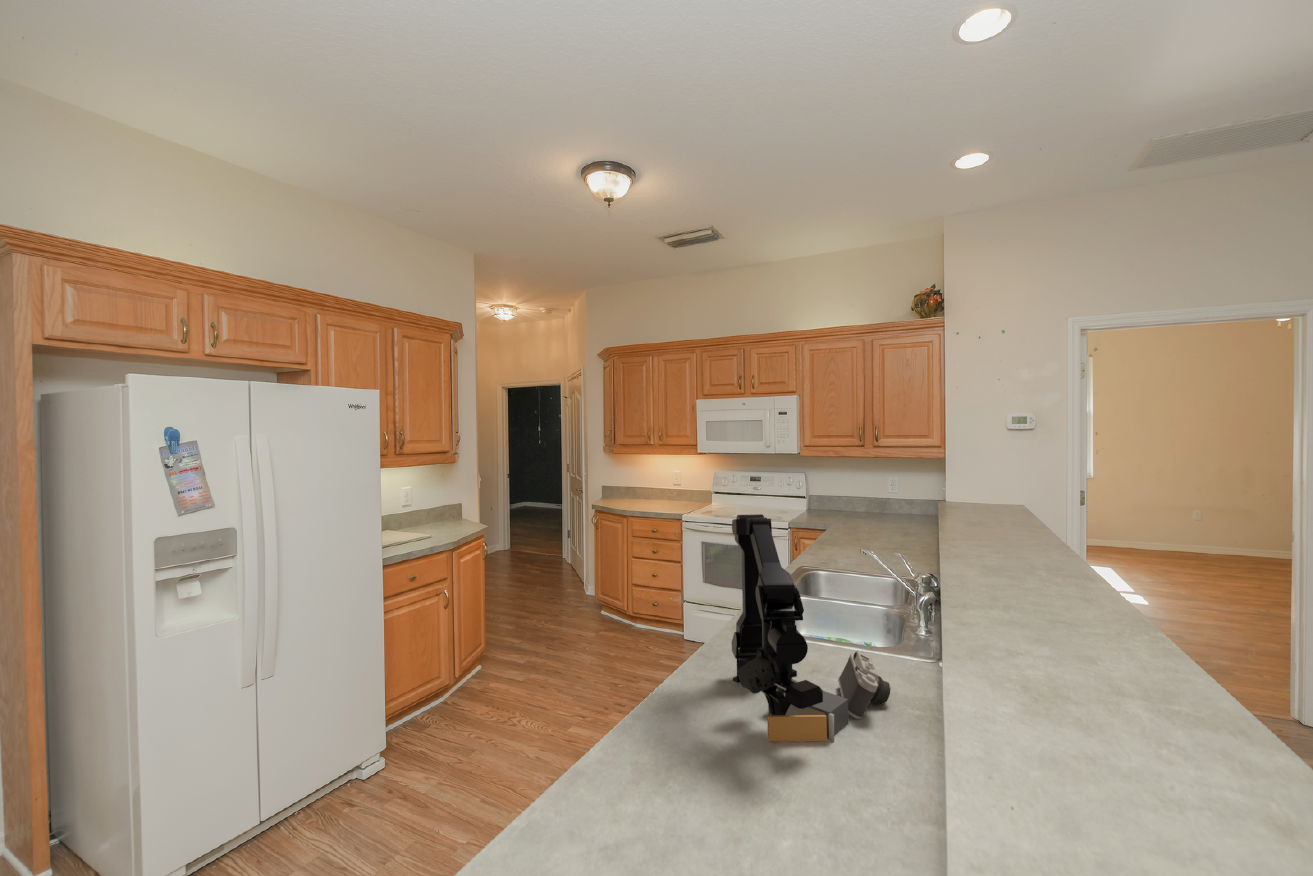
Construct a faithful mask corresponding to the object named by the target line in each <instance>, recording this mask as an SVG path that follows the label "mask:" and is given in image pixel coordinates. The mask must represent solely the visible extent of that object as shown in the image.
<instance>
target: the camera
mask: <svg viewBox="0 0 1313 876" xmlns="http://www.w3.org/2000/svg"><path fill="white" fill-rule="evenodd" d="M837 681H838V686H839V691H840V695H841V697H843V698H846V699H848V715H850V716H851V717H853V718H855V719H857V720H862V719H863V717H864V715H865V713H866V711H867V709H868V707H869V706H870V703H877V704H878V705H880V706H882V705H884V704H885V703H887V701H888V700H889V698H890V695H891V686H890V682H888V681H885V680H884V679H883V677H881V676H879V673H878V671H877V668H876V666H875V664H874V661H873V658H872V656H871V654H869V653H866V652H865V651H863V650H858V649H857V650H856V651H855V652H854V653H853V652H850V655H849V657H848V659H847V662H846V663H845V666H844V668H843V669H842V672H841V674H840V676H839V677H838V679H837Z"/></svg>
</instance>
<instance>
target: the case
mask: <svg viewBox="0 0 1313 876" xmlns="http://www.w3.org/2000/svg"><path fill="white" fill-rule="evenodd" d="M767 705H768V704H767ZM767 709H768V710H767V714H771V711H770V708H769V705H768V706H767ZM786 715H826V716H827V739H828V741H829V743H835V735H836V734H838V733H839V732H840V731H842V730H843V729H844V728H845V727H846V726H848V725H849V713H848V699H846V698H843V697H842V696H840V695H837V694H835V693H831V692H827V691H825V690H823V702H821V703H818V704H815V705H812V706H810V707H807V708H804V709H800V708H797V707H795V706H793V705H792V704H791V705H790V706H789V708H788V711H787V713H786Z"/></svg>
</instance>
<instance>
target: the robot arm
mask: <svg viewBox="0 0 1313 876" xmlns="http://www.w3.org/2000/svg"><path fill="white" fill-rule="evenodd" d="M772 529H773V528H772V518H767V517H765V515H764V514H756V513H755V514H737V515H736V518H735V519H734V518H733V519H732V521H731V530H732V531H731V532H732V535H734V541H735V543H736V544H737V546H738V547H739V549H740V551H741V579H742V580H741V584H742V585H741V590H742V591H741V592H742V596H741V597H742V613H741V614H740V616H739V617H738V620H737V621H736V622H735V631H734V632H733V635H732V639H731V652H732V654H733V657H734V658H735V660H736V676H734V677H732V681H734V682H737V683H739V684H740V685H741V687H742V688H744V689H746V690H748V691H749V692H751V693H752V694H756V695H757V694H759V693H760V692H762V693H763V694H764V696H765V699H766V702H767V705H769V708H770V711H771V714H772V716H775V715H786V713H787V711H788V708H789V706H790V705H791V704H792V705H793V706H795V707H797V708H800V709H804V708H807V707H810V706H812V705H815V704H818V703H821V702H823V691H824V690H823V689H822V688H821V686H819V685H817V684H815V683H813V682H811V681H809V680H807V679H804V680H801V681H797V680H796V679H794V678H796V677H798V671H797V670H796V669H793V665H796V664H799V663H800V662H802V661H803V660H805V658H806V657H807V654H808V649H809V648H808V643H807V640H806V639H805V637H804V635H802V634H801V633H800V631H799V630H798V629H797V624H796V621H804V616H803V614H804V611H805V610H804V606H803V601H802V597H801V593H800V591H799V590H798V586H797V585H796V584H795V583H794V580H793V578H792V576H791V573H790V572H789V571H787V570H786V569H785V568H784V567H782V564H781V562H780V558H779V555H778V551H777V548H776V544H775V540H774V537H773V530H772ZM793 608H794V610H792V609H793Z"/></svg>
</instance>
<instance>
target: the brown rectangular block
mask: <svg viewBox="0 0 1313 876" xmlns="http://www.w3.org/2000/svg"><path fill="white" fill-rule="evenodd" d="M767 741H768V742H819V741H821V742H822V741H824V742H826V741H828V737H827V716H826V715H775V716H772V714H768V713H767Z"/></svg>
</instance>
